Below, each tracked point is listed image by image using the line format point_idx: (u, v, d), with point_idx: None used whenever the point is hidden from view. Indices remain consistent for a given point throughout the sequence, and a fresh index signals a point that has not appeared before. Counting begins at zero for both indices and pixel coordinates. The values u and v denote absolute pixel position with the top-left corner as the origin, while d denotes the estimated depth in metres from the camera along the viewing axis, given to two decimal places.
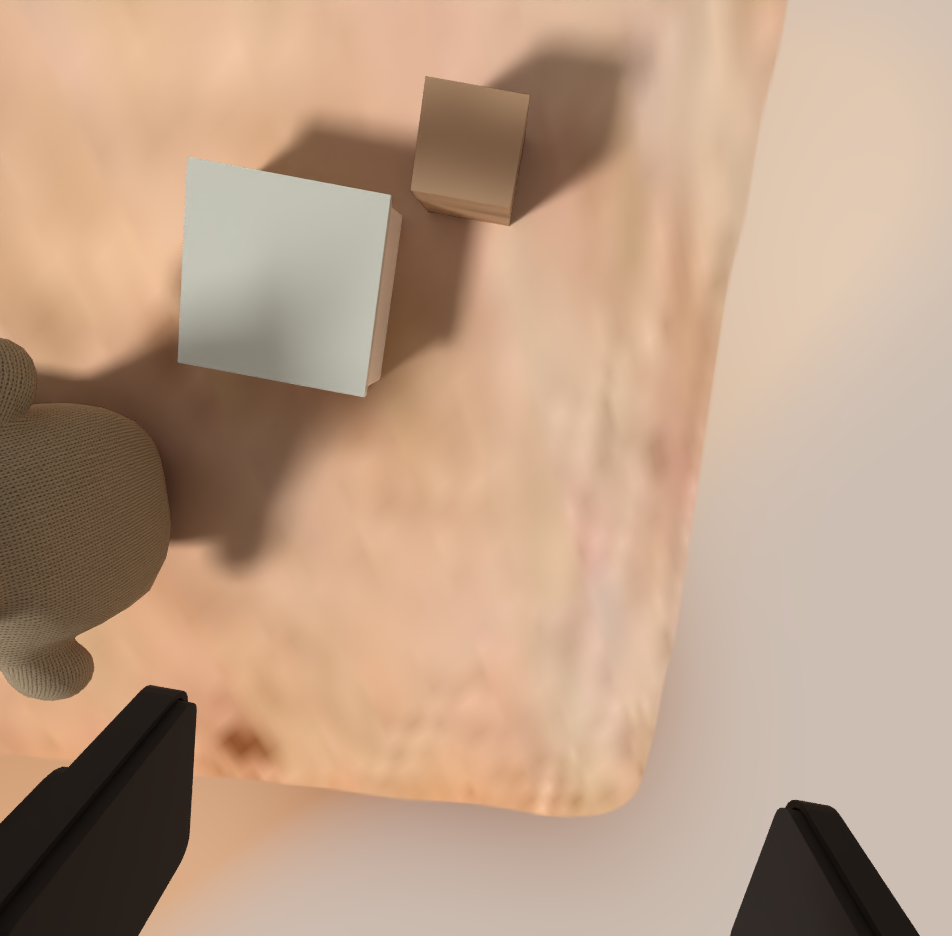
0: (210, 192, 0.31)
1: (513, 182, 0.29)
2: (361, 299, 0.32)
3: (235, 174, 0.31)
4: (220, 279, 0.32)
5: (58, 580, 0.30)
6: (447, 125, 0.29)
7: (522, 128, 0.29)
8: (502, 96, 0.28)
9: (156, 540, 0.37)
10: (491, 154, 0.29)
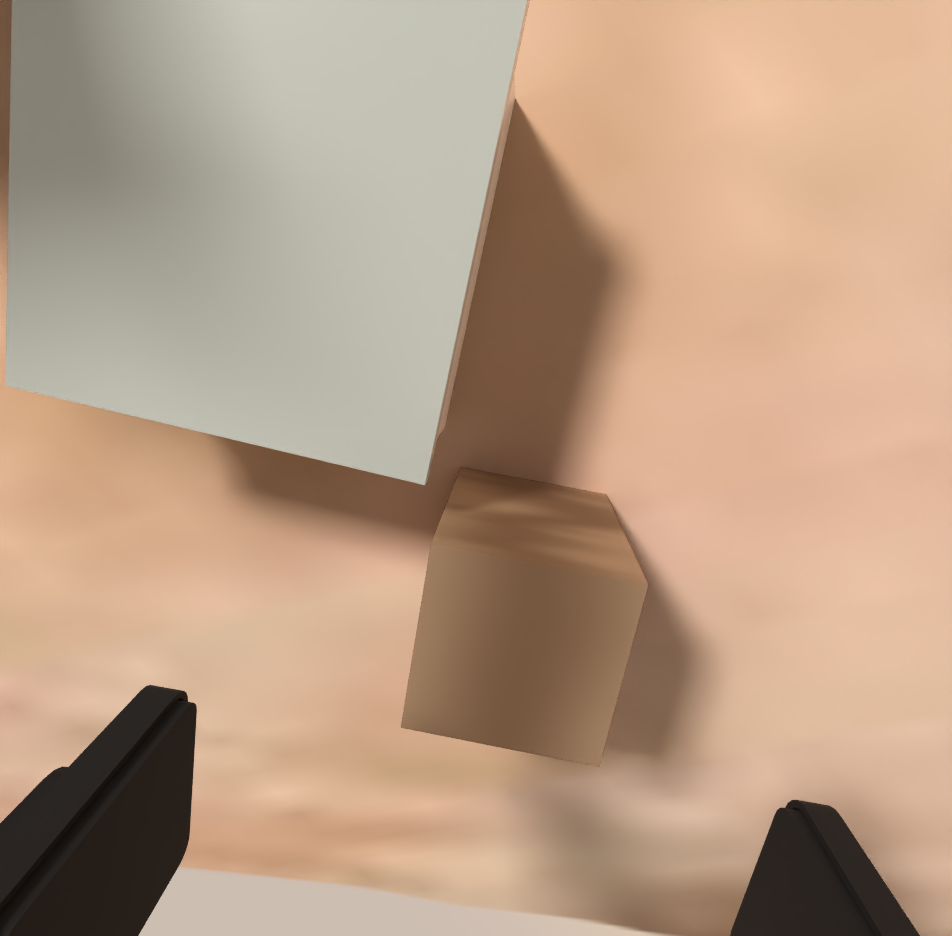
0: (443, 41, 0.12)
1: (446, 734, 0.15)
2: (212, 400, 0.14)
3: (481, 119, 0.13)
4: (238, 39, 0.13)
5: None
6: (552, 620, 0.14)
7: (541, 752, 0.15)
8: (599, 721, 0.15)
9: None
10: (497, 699, 0.15)
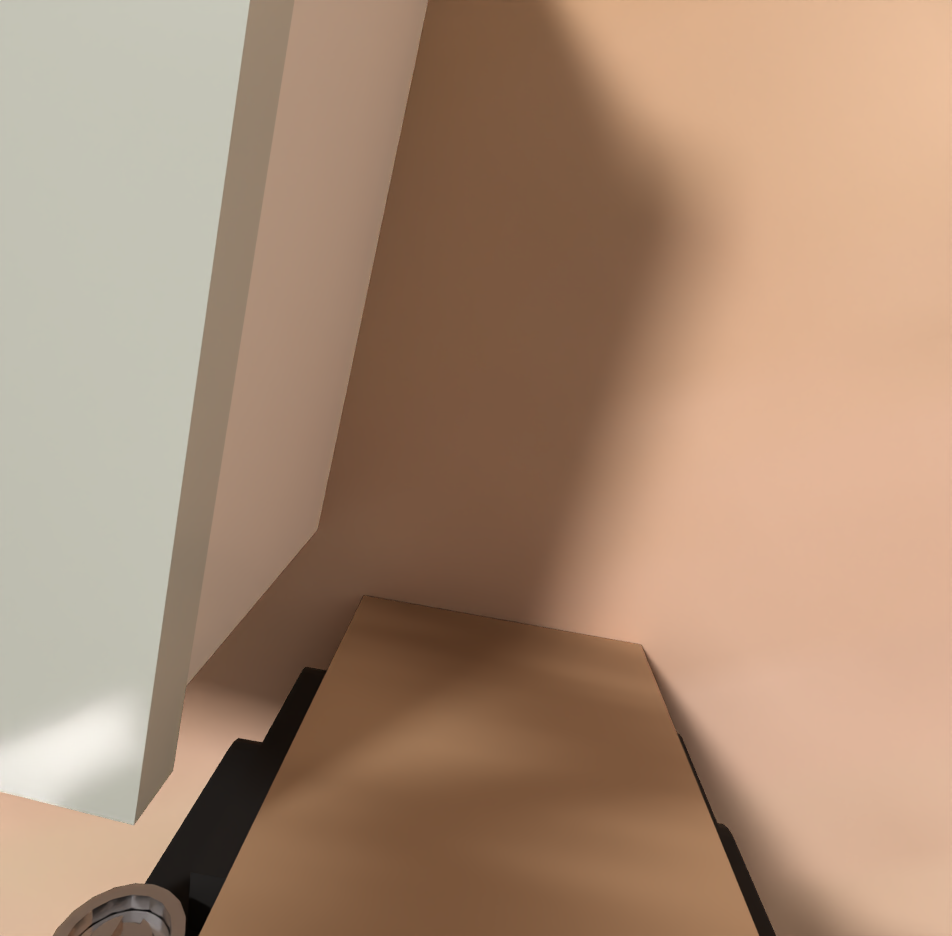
0: None
1: None
2: None
3: None
4: None
5: None
6: None
7: None
8: None
9: None
10: None
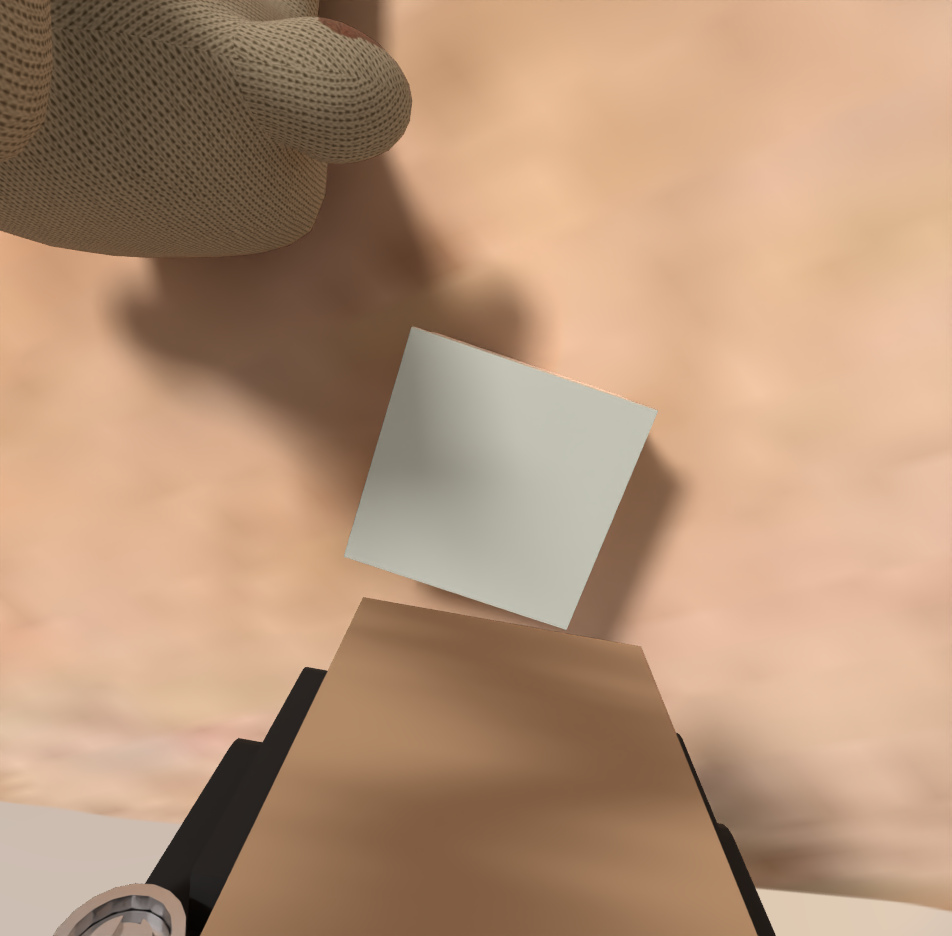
0: (611, 428, 0.25)
1: None
2: (459, 576, 0.27)
3: (625, 464, 0.25)
4: (508, 414, 0.25)
5: (1, 206, 0.18)
6: None
7: None
8: None
9: (128, 256, 0.25)
10: None
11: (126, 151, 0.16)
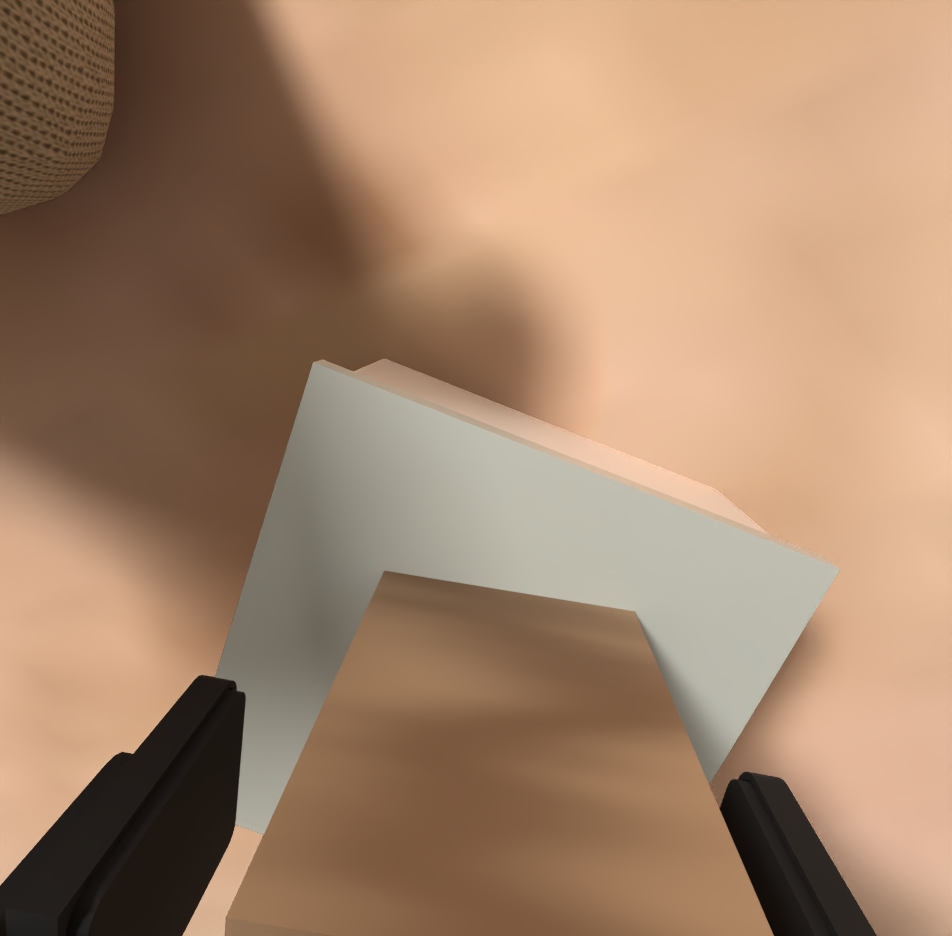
0: (736, 598, 0.12)
1: None
2: None
3: (756, 670, 0.12)
4: (519, 557, 0.12)
5: None
6: None
7: None
8: None
9: None
10: None
11: None
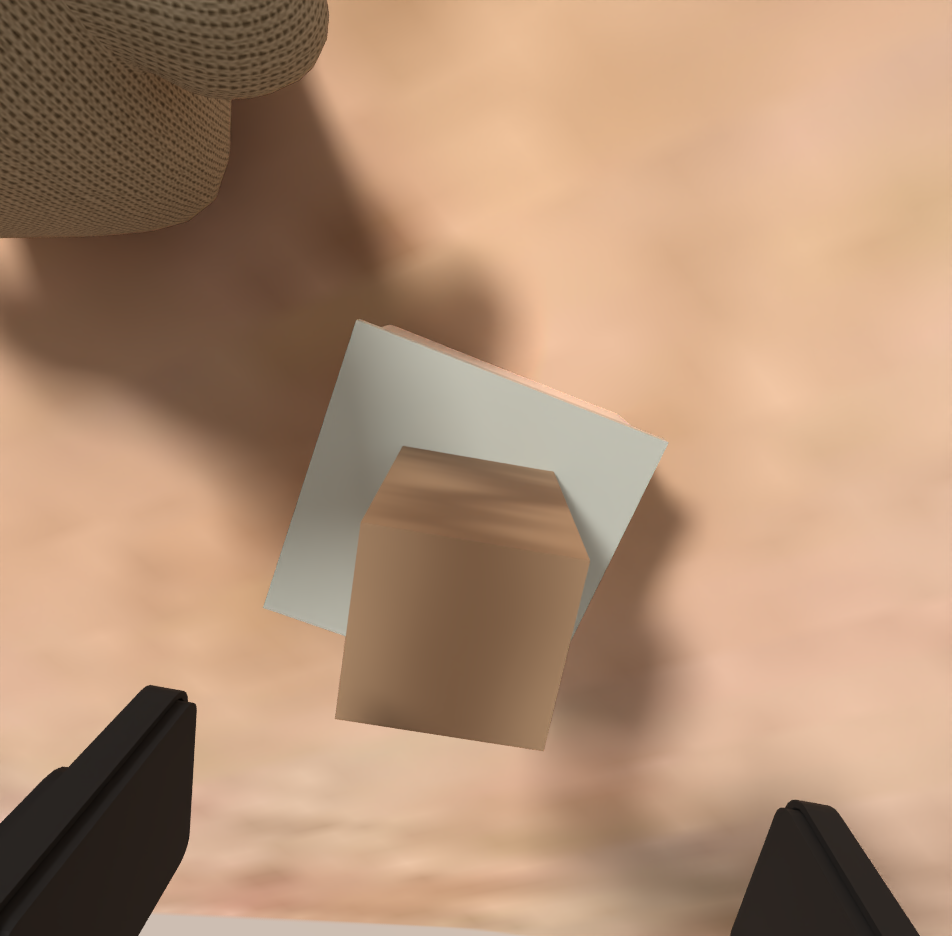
0: (609, 462, 0.20)
1: (383, 723, 0.14)
2: None
3: (623, 507, 0.20)
4: (479, 438, 0.19)
5: None
6: (492, 601, 0.13)
7: (484, 738, 0.14)
8: (543, 704, 0.14)
9: None
10: (436, 684, 0.14)
11: None
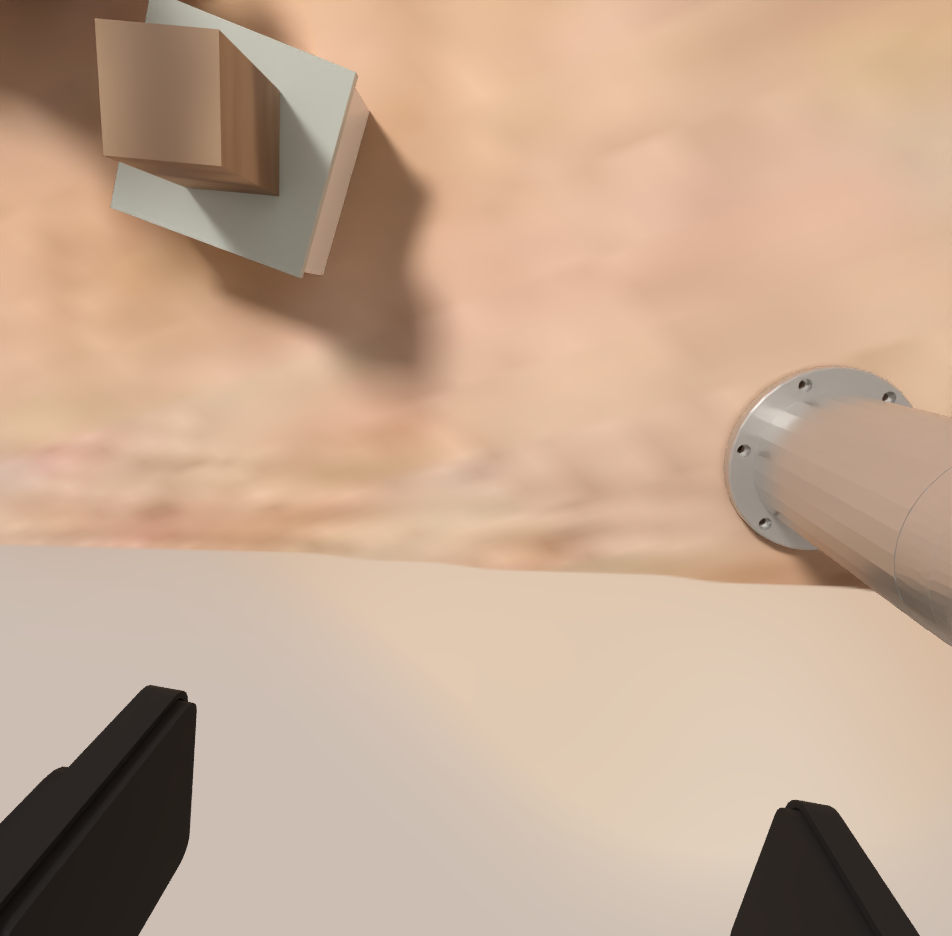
0: (320, 88, 0.31)
1: (130, 156, 0.25)
2: (207, 226, 0.33)
3: (333, 121, 0.31)
4: None
5: None
6: (172, 62, 0.24)
7: (187, 161, 0.25)
8: (214, 132, 0.25)
9: None
10: (153, 124, 0.25)
11: None
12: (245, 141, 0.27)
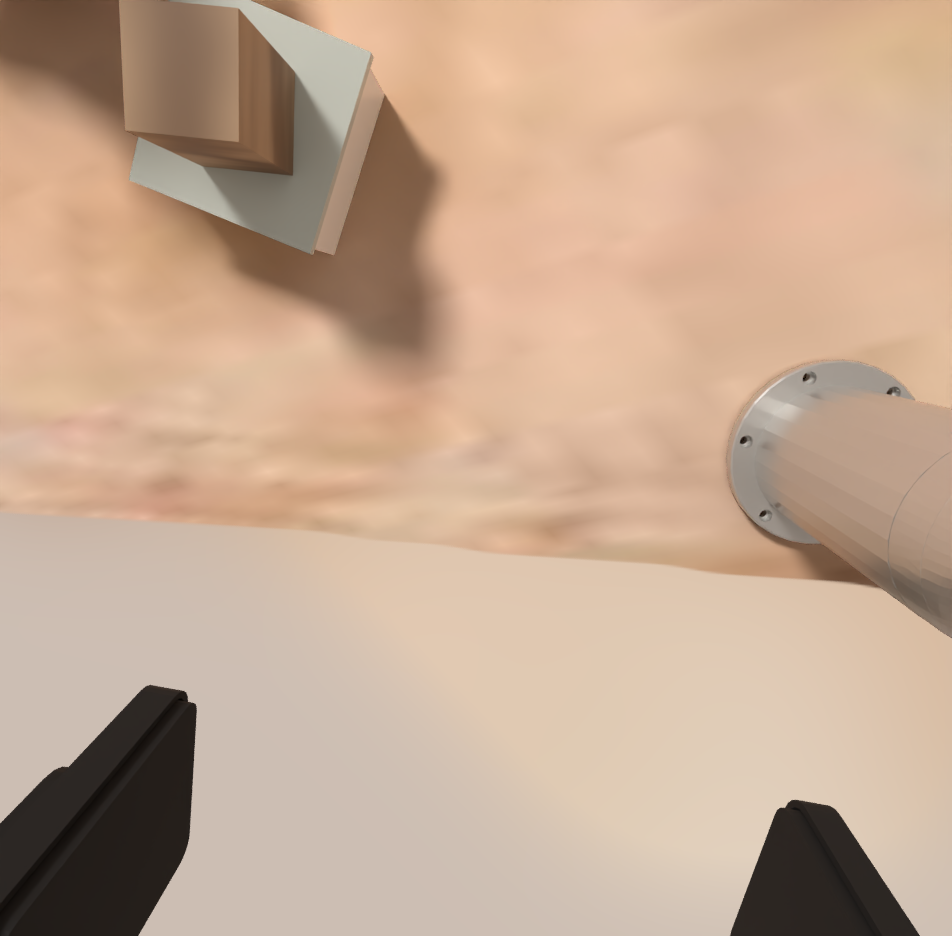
0: (336, 67, 0.31)
1: (151, 131, 0.26)
2: (222, 201, 0.33)
3: (348, 100, 0.32)
4: None
5: None
6: (193, 40, 0.25)
7: (205, 136, 0.26)
8: (232, 108, 0.26)
9: None
10: (174, 100, 0.26)
11: None
12: (261, 119, 0.28)
